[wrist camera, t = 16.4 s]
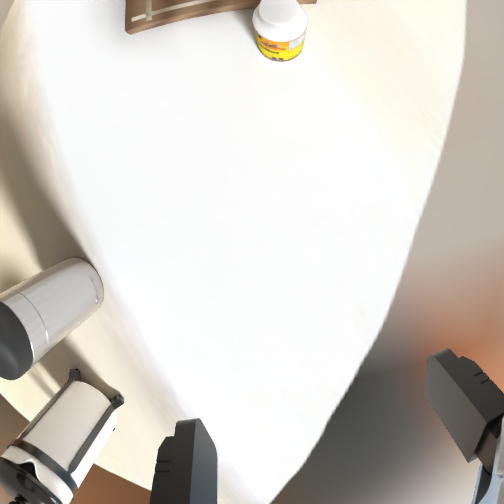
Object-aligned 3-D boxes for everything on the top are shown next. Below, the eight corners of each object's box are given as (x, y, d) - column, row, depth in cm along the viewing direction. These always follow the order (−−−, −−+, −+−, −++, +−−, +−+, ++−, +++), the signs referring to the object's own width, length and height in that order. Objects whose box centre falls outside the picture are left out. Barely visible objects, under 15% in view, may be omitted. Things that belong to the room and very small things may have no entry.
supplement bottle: (248, 42, 33) (237, 6, 24) (282, 18, 32) (281, -22, 22) (278, 72, 34) (276, 41, 24) (312, 47, 33) (321, 12, 23)
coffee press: (47, 367, 50) (-46, 461, 21) (107, 365, 48) (7, 494, 19) (86, 432, 54) (21, 530, 25) (147, 438, 51) (88, 561, 23)
